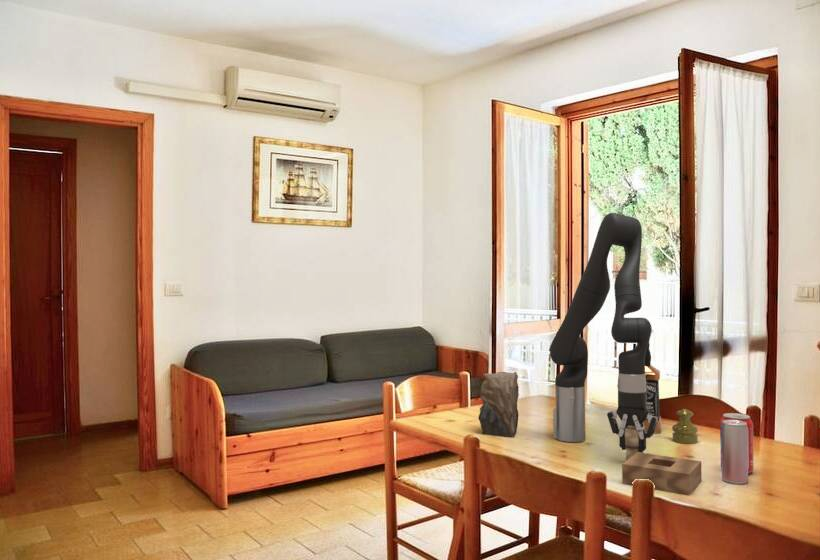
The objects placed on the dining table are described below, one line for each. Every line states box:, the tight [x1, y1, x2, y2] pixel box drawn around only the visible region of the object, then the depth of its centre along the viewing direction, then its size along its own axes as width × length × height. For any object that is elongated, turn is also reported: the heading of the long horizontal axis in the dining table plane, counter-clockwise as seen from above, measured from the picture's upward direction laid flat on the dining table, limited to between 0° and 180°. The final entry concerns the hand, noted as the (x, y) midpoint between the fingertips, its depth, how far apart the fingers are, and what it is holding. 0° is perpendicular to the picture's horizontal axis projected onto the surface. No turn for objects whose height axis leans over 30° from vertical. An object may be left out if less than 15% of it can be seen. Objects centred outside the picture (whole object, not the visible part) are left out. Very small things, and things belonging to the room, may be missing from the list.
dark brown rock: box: [478, 371, 520, 439], centre depth 221 cm, size 13×13×20 cm
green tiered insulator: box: [671, 408, 699, 445], centre depth 206 cm, size 7×7×10 cm
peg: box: [625, 426, 640, 461], centre depth 182 cm, size 4×4×10 cm
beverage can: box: [721, 420, 749, 485], centre depth 166 cm, size 6×6×15 cm
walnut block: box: [621, 452, 703, 496], centre depth 166 cm, size 16×13×5 cm
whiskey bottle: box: [628, 340, 662, 434], centre depth 222 cm, size 10×10×32 cm
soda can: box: [719, 412, 755, 475], centre depth 174 cm, size 8×8×15 cm
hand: (632, 450), depth 182 cm, fingers closed on peg, 4 cm apart
